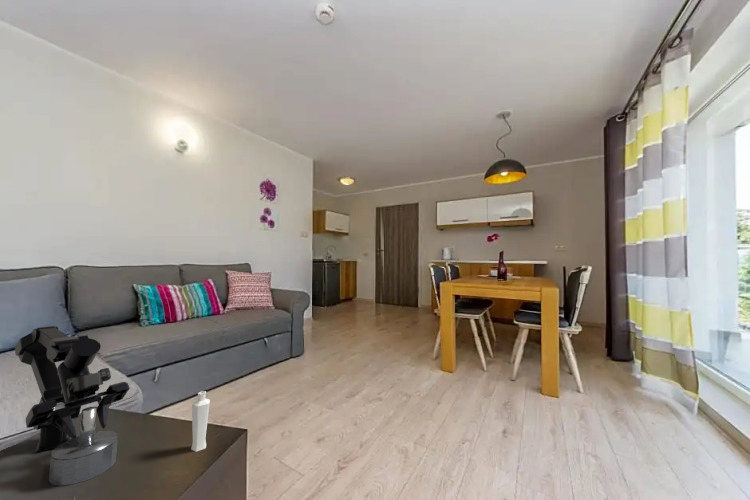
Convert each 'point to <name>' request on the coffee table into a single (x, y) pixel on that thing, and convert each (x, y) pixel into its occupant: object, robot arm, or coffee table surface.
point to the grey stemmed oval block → (83, 453)
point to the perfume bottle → (199, 421)
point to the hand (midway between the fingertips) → (90, 432)
